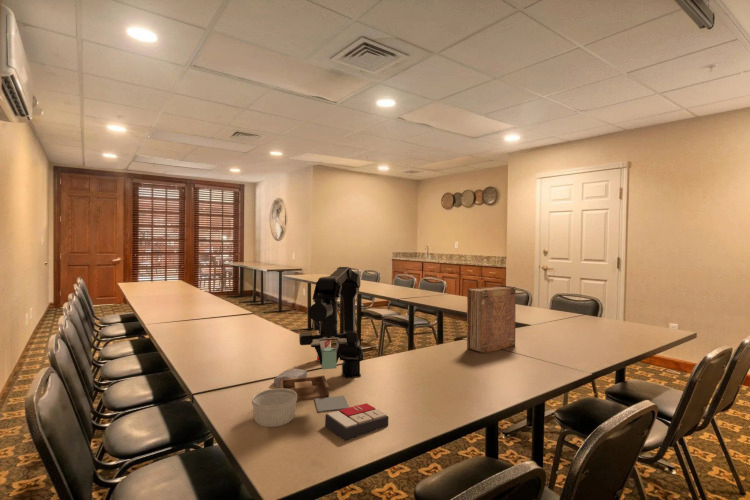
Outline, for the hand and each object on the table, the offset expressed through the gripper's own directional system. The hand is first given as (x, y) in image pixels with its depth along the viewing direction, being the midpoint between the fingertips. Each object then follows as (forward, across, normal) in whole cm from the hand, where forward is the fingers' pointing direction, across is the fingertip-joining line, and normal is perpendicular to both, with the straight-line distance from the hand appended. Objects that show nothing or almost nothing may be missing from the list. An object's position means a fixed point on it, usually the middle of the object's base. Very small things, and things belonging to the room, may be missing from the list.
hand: (328, 363), depth 128 cm
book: (+13, -88, -48) cm, 101 cm away
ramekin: (+14, +17, +7) cm, 23 cm away
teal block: (+1, 0, 0) cm, 1 cm away
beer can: (+13, -4, -48) cm, 49 cm away
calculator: (+14, -6, +17) cm, 23 cm away
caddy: (+13, +7, -11) cm, 19 cm away
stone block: (+14, +12, -24) cm, 30 cm away
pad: (+13, -1, +1) cm, 13 cm away
